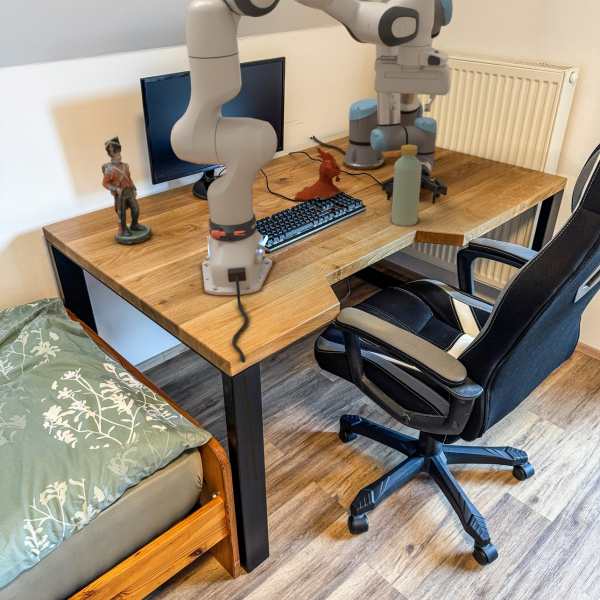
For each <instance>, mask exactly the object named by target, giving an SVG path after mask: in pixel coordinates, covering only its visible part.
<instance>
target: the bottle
mask: <svg viewBox="0 0 600 600" xmlns="http://www.w3.org/2000/svg"><path fill="white" fill-rule="evenodd" d="M421 169H422V164H421V162H420V161H419V160H418V159H417V158H416V156H415V155H411V156H407V155H403V154H402V155H401V157H399V158H398V159H397V160H396V161H395V163H394V165H393V177H394V183H393V193H392V204H391V222H392V224H394V225H397V226H402V227H410V226H414V225H416V224H417V223H418V219H419V206H420V205H419V204H420V193H421V188H420V182H421Z"/></svg>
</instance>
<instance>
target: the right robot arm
mask: <svg viewBox="0 0 600 600" xmlns="http://www.w3.org/2000/svg"><path fill="white" fill-rule="evenodd" d="M388 1H390V0H381V1H380V3H387V2H388ZM453 6H454V5H453V0H434V23H433V28H432V31H431V39H432V42H433V41H434V39H436V38H438V36H440V33H441V30H442V27H446V26H448V25H449V24H450V23H451V21H452V18H453V11H454V10H453V9H454V7H453ZM382 55H385V56H397V46H395V47H385V46H379V45H375V60H376V59H377V58H378V57H380V56H382ZM378 60H380V59H378ZM392 98H393V100H394V102H397V105H396V106H397V108H396V110H390V103H389V101H388V99H387V93H381V92H376V98H375V97H374V98H363V99H360V100H357V101H354V102H353V103H352V104H351V105H350V107H349V111H348V112H349V113H348V137H349V138H348V146H347V148H346V151H344V150H343V149H342V148H340V147H338V146H336V145H333V144H328V143H325V142H322V141H321V140H319V139H318V138H317V137H316V136H315V135H312V136H313V138H312V137H311V136H310V140H314V141H315V142H316V143H318V144H319V145H321V146H324V147H327V148H331V149H335V150H338V151H339V152H341V153H342V154H343V155H345V156H344V157H343V165H344V166H345V167H347V168H348V169H352V170H357V171H368V170H376V169H379V168H381V167H383V166H384V164H385V158H384V154H383V153H388V152H395V151H401V146H403V145H415V146H417V154H416V155H415V156H416V158H417V159H418V160H419V161H420V162H421V164H422V169H421V182H420V189H423V190H424V191H426V190H427V191H429V192H431V193H432V200H431V204H432V205H435V204H436V199H439V198H441V195H442V196H447V195H448V186H447V185H446V184H445V183H444V182H443V181H441V180H440V177H439V176H434V178H431V176H432V172H433V169H434V167H435V163H436V159H435V154H436V150H435V149H436V142H437V134H438V133H437V131H438V130H437V129H438V122H437V120H436V119H435V118H433V117H428V116H424V115H423V114H424V107H423V103H422V102H421V99H420V98H419V94H403V93H393V96H392ZM393 183H394V176H393V177H391V178H388V179H386V180H385V181H382V183H381V191H382V192H383V191H385V195H386V201H390V200H391V198H392V197H393Z"/></svg>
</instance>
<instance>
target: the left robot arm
mask: <svg viewBox="0 0 600 600" xmlns="http://www.w3.org/2000/svg"><path fill="white" fill-rule="evenodd" d="M280 1H281V0H191V2H189V4H188V5H187V8H186V11H185V12H186V15H185V17H186V18H185V38H186V49H187V50H186V51H187V57H188V66H189V75H190V76H189V77H190V85H191V86H190V87H191V88H190V89H191V91H190V100H189V102H188V105H187V109H186V111H185V112H184V114H183V115H182V116H181V117H180V118H179V119H177V121H176V122H175V123H174V125H173V126H172V129H171V131H170V132H171V133H170V144H171V148H172V151H173V153H174V154H175V156H176V157H177V158H178V159H180V160H181V161H184V162H189V163H192V164H197V165H216V166H217V165H219V166H225V171H226V172H225V174H224V175H222V176H220V177H218V178H217V179H215V180H213V181H212V182H211V183H210V185H209V186H208V189H207V191H206V195H207V203H208V212H209V218H208V229H209V234H208V235H207V236H206V243H207V249H208V255H206V256H205V260H204V261H203V262H202V263H201V268H202V278H203V290H204V292H205V293H207V294H210V295H214V296H236V300H237V306H238V309H239V311H240V313H241V315H242V316H243V319H244V321H243V324H242V326H241V327H240V328H239V329H238V330H237V331H236V333H234V335H233V337H232V341H231V342H232V347H233V348H234V349H235V350H236V351H237V353H238V355H239V357H240V360H241V363H246V358H245V355H244V352H243V350H242V349H241V348H240V347H239V346H238V345H237V343H236V342H237V338H238V337H239V335H240V334H241V333H243V331H244V330H245V329H246V327H247V326H248V322H249V318H248V314H247V313H246V312H245V310H244V308H243V306H242V301H241V295H249V294H253V293H256V292H259V291H260V290H261V288H262V287H263V286H264V283H265V280H266V278H267V276H268V274H269V273H270V271H271V268H272V266H273V265H274V264H273V260H272V259H271V258H268V257H266V249H265V246H266V243H267V241H268V239H269V237H268V235H265V237H264V235H263V234H262V233H260V232H259V231H258V230H257V218H256V214H255V212H254V200H253V194H254V193H253V191H254V190H253V189H254V184H255V181H256V178H257V175H258V174H259V172H260V171H261V170H262V168H264V167H265V166H266V165H268V163H270V162H271V161H272V160H273V158H274V157H275V154H276V152H277V150H278V149H277V148H278V137H277V133H276V130H275V129H274V127H273V125H272V124H270V122H269V121H265V120H261V119H258V118H253V117H240V116H239V117H237V116H236V117H235V116H233V117H232V116H230V117H229V116H226V117H225V116H223V115H222V106H223V105H225V104H226V103H229V102H230V101H231V100H233V99H235V98H236V97H237V96H238V95H239V93H240V91H241V89H242V84H243V83H242V72H241V63H240V62H241V61H240V51H239V43H238V36H237V35H238V28H239V23H240V21H241V19H242V16H243V17H251V18H261V17H263V16H267V15H268V14H270V13H271V12H272V11H274V9H275V8H276V7H277V6H278V5H279V4H280ZM294 1H295V2H296V3H299V4H300V5H303V6H305V7H307V8H310V9H314V10H317V11H322V12H324V13H325V14H326V15H328V16H330V17H331V18H333V19H335V20H336V21H337V22H339V23H340V24H342V26H344V28H345V29H346V31H347V32H348V34H349V36H350V37H351V38H352V39H353V40H355V42H357V43H360V44H370V45H374V46H376V45H379V46H385V47H395V46H397V56H385V55H382V56H380V57H378V58H377V59H376V58H375V60H374V71H375V74H374V83H373V89H374V91H375V92H376V93H377V92H381V93H387V99H388V101H389V103H390V110H396V108H397V106H396V105H397V102H394V100H393V98H392V96H393V93H403V94H418V95H427V96H429V102H428V103H425V104H424V108H423V112H426V113H427V112H428V113H430V112H431V110H432V105H433V103H434V101H435V100H436V98H437V96H447V95H448V94H449V93H450V91H451V85H452V74H451V73H452V72H451V68H450V65H449V64H448V62H449V58H450V57H449V54H448V53H447V52H444V51H441V50H439V49H436V48H434V47H432V46H433V41H432V39H431V31H432V28H433V23H434V0H390V1H388V2H387V3H380V2H381V1H380V2H379V1H373V0H294ZM378 59H380V60H378ZM242 381H243V382H242V385H243V394H244V401H245V411H246V420H247V429H248V437H249V443H250V444H249V445H250V453H251V460H252V468H253V477H254V478H253V479H254V481H258V479H259V478H258V467H257V461H256V451H255V443H254V434H253V427H252V417H251V408H250V400H249V399H250V398H249V390H248V380H247V375H242Z"/></svg>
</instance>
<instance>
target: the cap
mask: <svg viewBox="0 0 600 600" xmlns="http://www.w3.org/2000/svg"><path fill="white" fill-rule="evenodd" d="M400 154H401V155H402V156H403V155H407V156H411V155H416V154H417V146H415V145H403V146H401V150H400Z"/></svg>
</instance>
